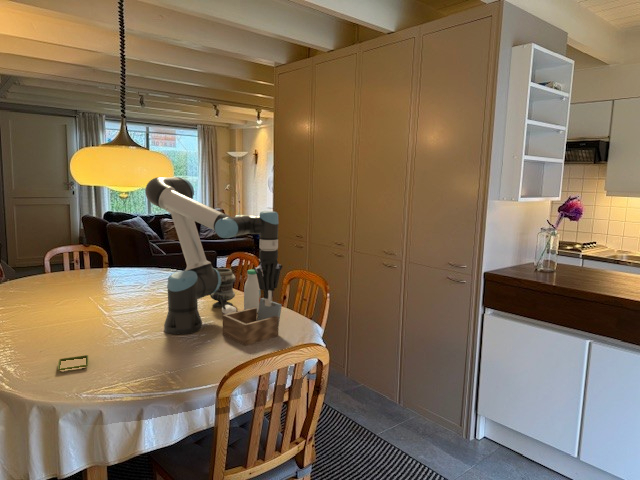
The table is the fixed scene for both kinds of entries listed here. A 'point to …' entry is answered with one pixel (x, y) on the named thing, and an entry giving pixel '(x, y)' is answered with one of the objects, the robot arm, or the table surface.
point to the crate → (249, 326)
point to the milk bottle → (251, 291)
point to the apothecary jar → (224, 288)
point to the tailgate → (268, 310)
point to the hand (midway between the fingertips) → (268, 305)
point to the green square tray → (73, 359)
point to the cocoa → (227, 307)
